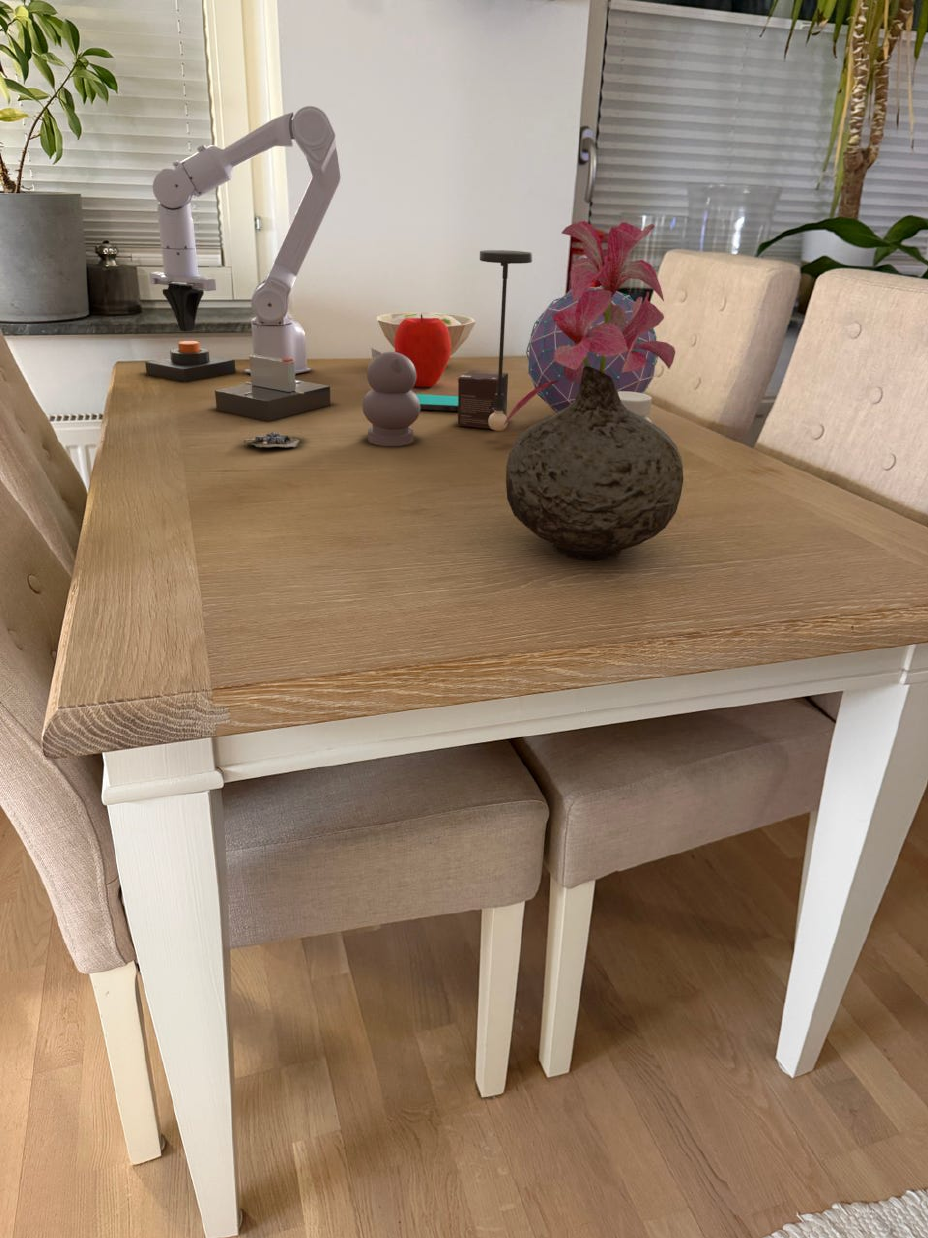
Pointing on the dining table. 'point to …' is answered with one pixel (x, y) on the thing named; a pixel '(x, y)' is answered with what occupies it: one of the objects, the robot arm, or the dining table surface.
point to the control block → (190, 366)
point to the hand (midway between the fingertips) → (187, 330)
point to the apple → (424, 347)
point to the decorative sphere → (552, 337)
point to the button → (188, 346)
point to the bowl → (454, 323)
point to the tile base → (272, 400)
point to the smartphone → (438, 402)
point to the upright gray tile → (272, 373)
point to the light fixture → (502, 324)
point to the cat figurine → (391, 399)
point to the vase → (598, 421)
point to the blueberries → (272, 441)
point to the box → (479, 397)
